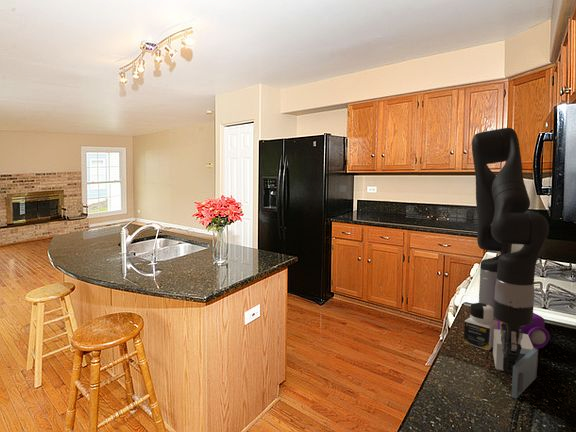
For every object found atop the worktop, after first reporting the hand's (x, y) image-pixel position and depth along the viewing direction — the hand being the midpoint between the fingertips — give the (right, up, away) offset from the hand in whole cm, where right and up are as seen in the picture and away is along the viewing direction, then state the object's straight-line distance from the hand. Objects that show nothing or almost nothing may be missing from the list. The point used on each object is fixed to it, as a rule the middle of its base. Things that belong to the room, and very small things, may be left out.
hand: (508, 370), depth 80 cm
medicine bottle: (+7, -3, +24) cm, 26 cm away
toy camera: (+20, -3, +24) cm, 31 cm away
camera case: (+9, -4, +12) cm, 16 cm away
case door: (+5, -4, +1) cm, 7 cm away
